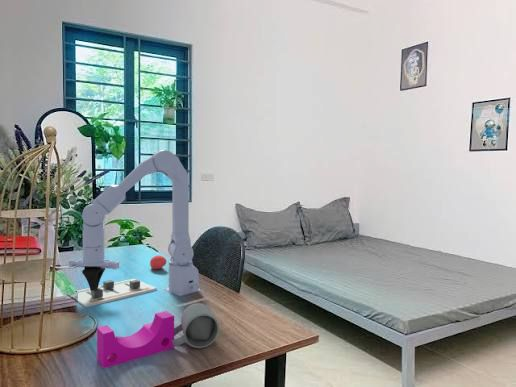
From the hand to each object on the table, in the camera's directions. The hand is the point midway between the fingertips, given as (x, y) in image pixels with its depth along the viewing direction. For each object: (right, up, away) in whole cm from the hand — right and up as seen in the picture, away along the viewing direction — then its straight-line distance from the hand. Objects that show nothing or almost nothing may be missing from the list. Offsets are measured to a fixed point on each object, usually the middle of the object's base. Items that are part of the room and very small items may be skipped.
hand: (94, 292), depth 114 cm
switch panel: (+3, -2, +5) cm, 6 cm away
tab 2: (+2, 0, +7) cm, 7 cm away
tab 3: (+9, 0, +7) cm, 12 cm away
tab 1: (+1, -1, -2) cm, 2 cm away
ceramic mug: (+34, -5, -23) cm, 41 cm away
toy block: (+22, -5, -31) cm, 38 cm away
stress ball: (+10, -1, +32) cm, 34 cm away
